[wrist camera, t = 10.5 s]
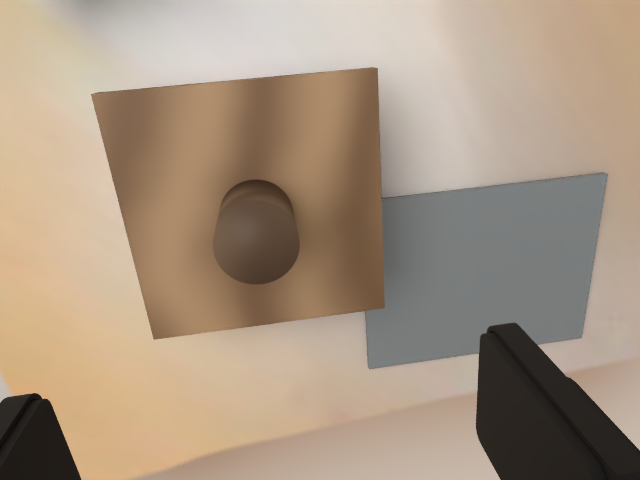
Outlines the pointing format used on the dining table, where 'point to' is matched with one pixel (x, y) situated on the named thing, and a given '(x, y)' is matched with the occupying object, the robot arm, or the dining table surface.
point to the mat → (484, 266)
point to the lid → (250, 197)
